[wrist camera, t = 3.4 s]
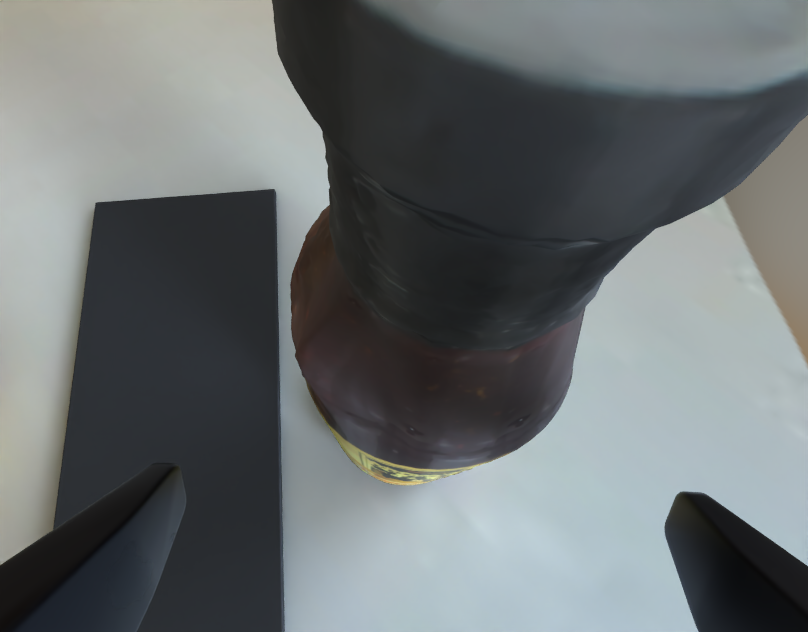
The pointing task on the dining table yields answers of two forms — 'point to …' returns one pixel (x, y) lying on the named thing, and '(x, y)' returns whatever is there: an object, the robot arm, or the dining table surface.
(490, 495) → the dining table surface
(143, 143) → the dining table surface
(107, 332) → the mat
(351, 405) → the sauce bottle
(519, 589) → the dining table surface
